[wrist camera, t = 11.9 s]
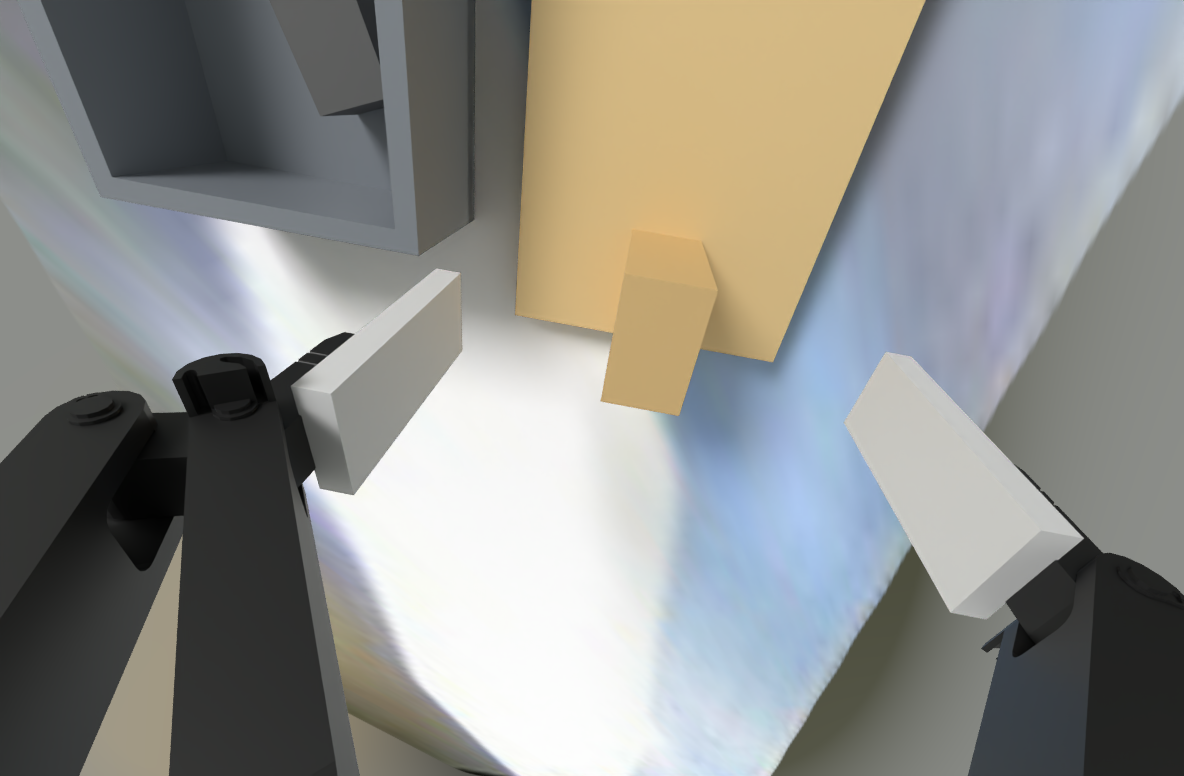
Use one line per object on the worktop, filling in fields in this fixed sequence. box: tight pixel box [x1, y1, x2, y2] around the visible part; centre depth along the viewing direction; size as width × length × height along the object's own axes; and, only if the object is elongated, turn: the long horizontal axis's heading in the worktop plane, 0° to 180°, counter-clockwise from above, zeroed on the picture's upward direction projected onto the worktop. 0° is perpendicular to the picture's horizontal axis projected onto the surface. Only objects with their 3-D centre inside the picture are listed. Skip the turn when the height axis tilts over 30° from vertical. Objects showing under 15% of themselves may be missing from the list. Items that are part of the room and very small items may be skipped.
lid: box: [515, 0, 925, 416], centre depth 15 cm, size 19×13×8 cm
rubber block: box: [269, 0, 384, 116], centre depth 16 cm, size 4×3×2 cm
